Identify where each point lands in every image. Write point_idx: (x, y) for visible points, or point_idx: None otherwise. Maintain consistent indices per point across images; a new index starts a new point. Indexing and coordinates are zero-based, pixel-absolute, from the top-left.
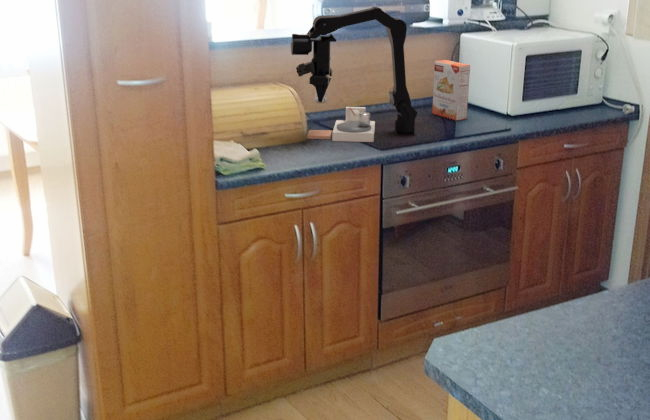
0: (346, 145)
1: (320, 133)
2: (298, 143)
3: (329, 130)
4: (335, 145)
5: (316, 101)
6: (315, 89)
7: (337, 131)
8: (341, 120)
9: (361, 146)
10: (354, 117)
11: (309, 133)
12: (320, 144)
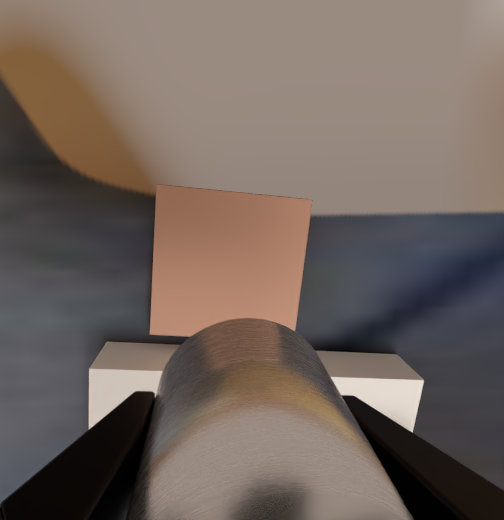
0: (17, 419)
1: (217, 274)
2: (26, 126)
3: (292, 327)
4: (8, 361)
5: (182, 353)
6: (216, 506)
7: (120, 399)
8: (414, 410)
9: (6, 492)
10: None
11: (217, 201)
12: (19, 273)
